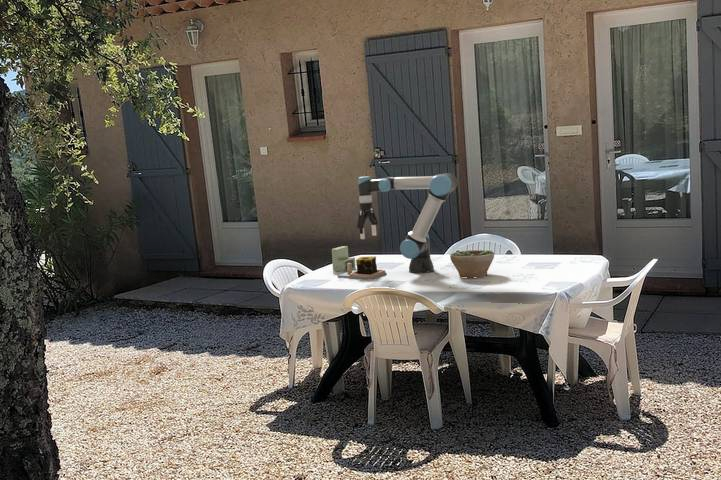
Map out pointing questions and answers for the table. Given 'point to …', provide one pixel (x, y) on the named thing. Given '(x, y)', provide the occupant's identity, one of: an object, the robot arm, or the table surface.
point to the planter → (472, 262)
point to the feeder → (341, 259)
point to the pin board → (361, 276)
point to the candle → (366, 265)
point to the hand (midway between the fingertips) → (368, 237)
